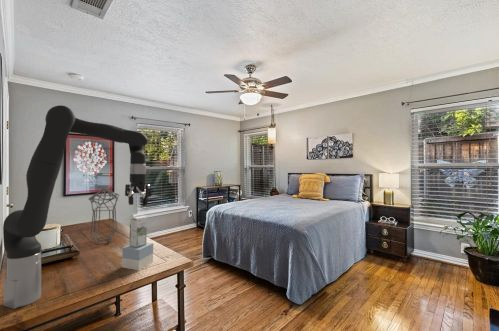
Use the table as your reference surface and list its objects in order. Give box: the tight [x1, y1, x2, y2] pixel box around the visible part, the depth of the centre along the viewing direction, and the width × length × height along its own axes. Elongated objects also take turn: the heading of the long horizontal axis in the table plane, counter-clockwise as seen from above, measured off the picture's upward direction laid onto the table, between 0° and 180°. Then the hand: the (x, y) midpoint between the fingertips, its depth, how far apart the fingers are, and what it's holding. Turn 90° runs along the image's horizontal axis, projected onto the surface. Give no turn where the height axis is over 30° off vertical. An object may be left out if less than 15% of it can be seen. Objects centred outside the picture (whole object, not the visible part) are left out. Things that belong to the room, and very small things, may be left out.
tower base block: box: [121, 252, 154, 271], centre depth 120 cm, size 10×10×5 cm
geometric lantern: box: [88, 187, 120, 245], centre depth 154 cm, size 16×16×35 cm
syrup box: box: [128, 215, 148, 247], centre depth 120 cm, size 6×6×14 cm
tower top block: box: [121, 242, 154, 260], centre depth 120 cm, size 10×10×5 cm
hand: (137, 205), depth 120 cm, fingers open, 8 cm apart
